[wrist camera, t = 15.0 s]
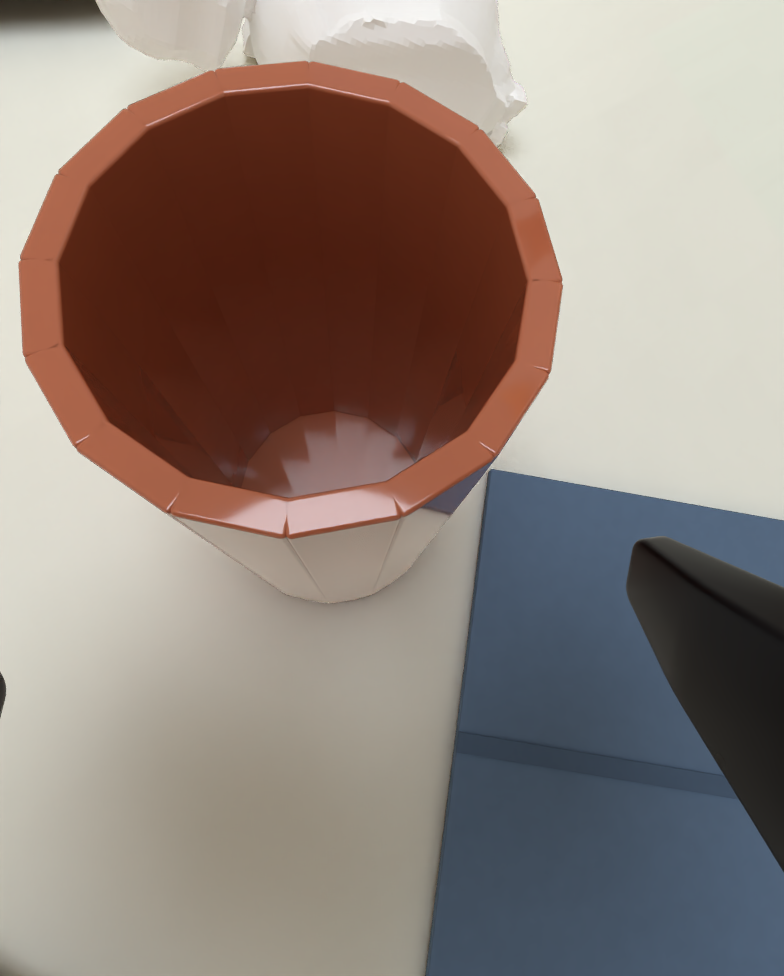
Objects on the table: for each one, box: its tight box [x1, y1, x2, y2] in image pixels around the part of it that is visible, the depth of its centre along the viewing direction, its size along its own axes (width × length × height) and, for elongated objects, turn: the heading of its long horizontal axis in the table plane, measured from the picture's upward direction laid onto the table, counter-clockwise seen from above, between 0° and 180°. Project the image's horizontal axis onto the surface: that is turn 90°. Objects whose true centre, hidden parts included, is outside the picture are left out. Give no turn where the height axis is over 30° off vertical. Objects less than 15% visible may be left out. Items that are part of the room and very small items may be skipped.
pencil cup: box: [19, 60, 563, 604], centre depth 14 cm, size 7×7×13 cm
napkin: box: [425, 469, 784, 976], centre depth 18 cm, size 18×12×1 cm, turn 171°
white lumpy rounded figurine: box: [95, 0, 528, 147], centre depth 21 cm, size 9×8×15 cm
